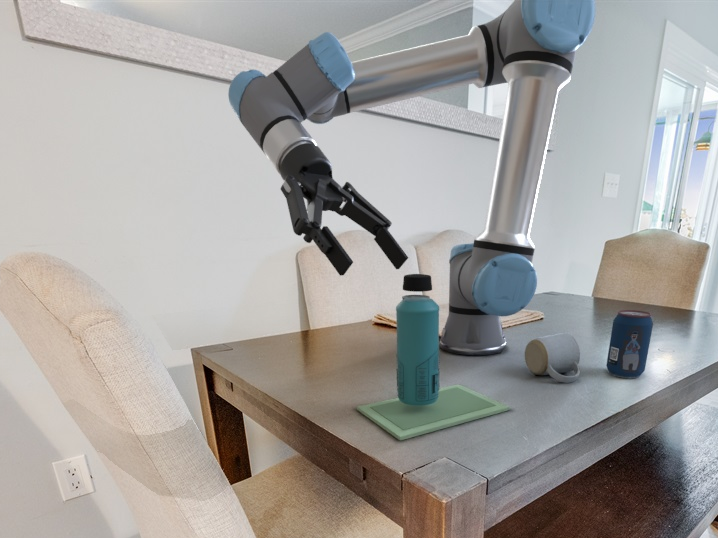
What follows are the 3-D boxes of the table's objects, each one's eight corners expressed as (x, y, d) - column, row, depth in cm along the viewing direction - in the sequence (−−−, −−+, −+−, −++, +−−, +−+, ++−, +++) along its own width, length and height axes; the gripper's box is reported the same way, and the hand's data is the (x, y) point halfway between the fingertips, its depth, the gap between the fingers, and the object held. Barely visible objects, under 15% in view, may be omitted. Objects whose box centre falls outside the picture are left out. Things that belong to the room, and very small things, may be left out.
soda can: (625, 367, 94) (635, 308, 90) (651, 377, 88) (663, 314, 84) (597, 370, 92) (606, 310, 88) (622, 381, 86) (633, 317, 82)
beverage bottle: (437, 416, 68) (440, 277, 61) (392, 414, 69) (390, 276, 61) (440, 400, 74) (443, 272, 67) (399, 398, 75) (398, 271, 67)
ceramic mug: (520, 370, 92) (523, 332, 89) (552, 365, 95) (557, 328, 92) (554, 387, 83) (560, 345, 80) (589, 381, 86) (596, 341, 83)
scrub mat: (458, 387, 82) (458, 383, 82) (509, 410, 72) (509, 406, 72) (357, 410, 72) (357, 405, 72) (400, 440, 62) (400, 436, 62)
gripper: (341, 186, 84) (408, 276, 82) (220, 172, 65) (304, 290, 63) (363, 152, 80) (434, 246, 78) (240, 125, 60) (331, 251, 58)
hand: (376, 266), depth 70 cm, fingers open, 13 cm apart
